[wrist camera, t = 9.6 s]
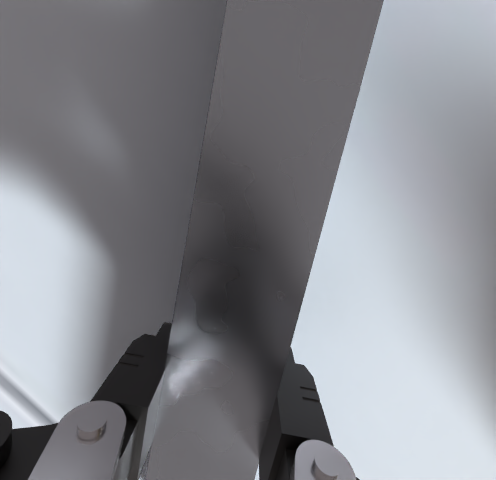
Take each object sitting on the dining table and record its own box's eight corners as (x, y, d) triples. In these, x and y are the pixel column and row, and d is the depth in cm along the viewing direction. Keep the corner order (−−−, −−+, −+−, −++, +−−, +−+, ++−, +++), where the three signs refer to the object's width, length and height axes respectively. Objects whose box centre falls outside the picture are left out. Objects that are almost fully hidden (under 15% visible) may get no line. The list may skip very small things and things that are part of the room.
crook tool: (153, 524, 14) (113, 664, 10) (305, -297, 8) (364, -804, 4) (392, 565, 14) (447, 715, 10) (712, -183, 8) (1154, -529, 4)
